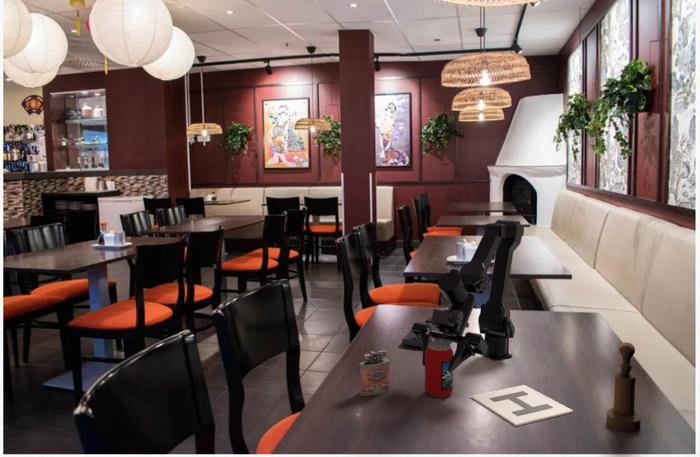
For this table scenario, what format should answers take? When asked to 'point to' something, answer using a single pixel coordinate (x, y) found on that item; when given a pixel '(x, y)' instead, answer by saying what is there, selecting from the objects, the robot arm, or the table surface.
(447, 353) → the beverage can
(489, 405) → the letter mat
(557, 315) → the table surface
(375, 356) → the lighter
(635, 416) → the brown knobbed pedestal
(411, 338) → the dark slate chunk
